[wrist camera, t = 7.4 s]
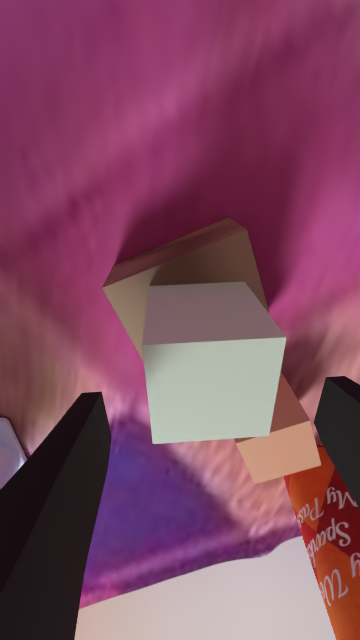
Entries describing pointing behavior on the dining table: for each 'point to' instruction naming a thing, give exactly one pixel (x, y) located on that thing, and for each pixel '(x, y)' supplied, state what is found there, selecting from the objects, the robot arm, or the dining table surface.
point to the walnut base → (182, 270)
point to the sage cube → (210, 362)
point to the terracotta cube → (281, 441)
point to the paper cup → (330, 540)
